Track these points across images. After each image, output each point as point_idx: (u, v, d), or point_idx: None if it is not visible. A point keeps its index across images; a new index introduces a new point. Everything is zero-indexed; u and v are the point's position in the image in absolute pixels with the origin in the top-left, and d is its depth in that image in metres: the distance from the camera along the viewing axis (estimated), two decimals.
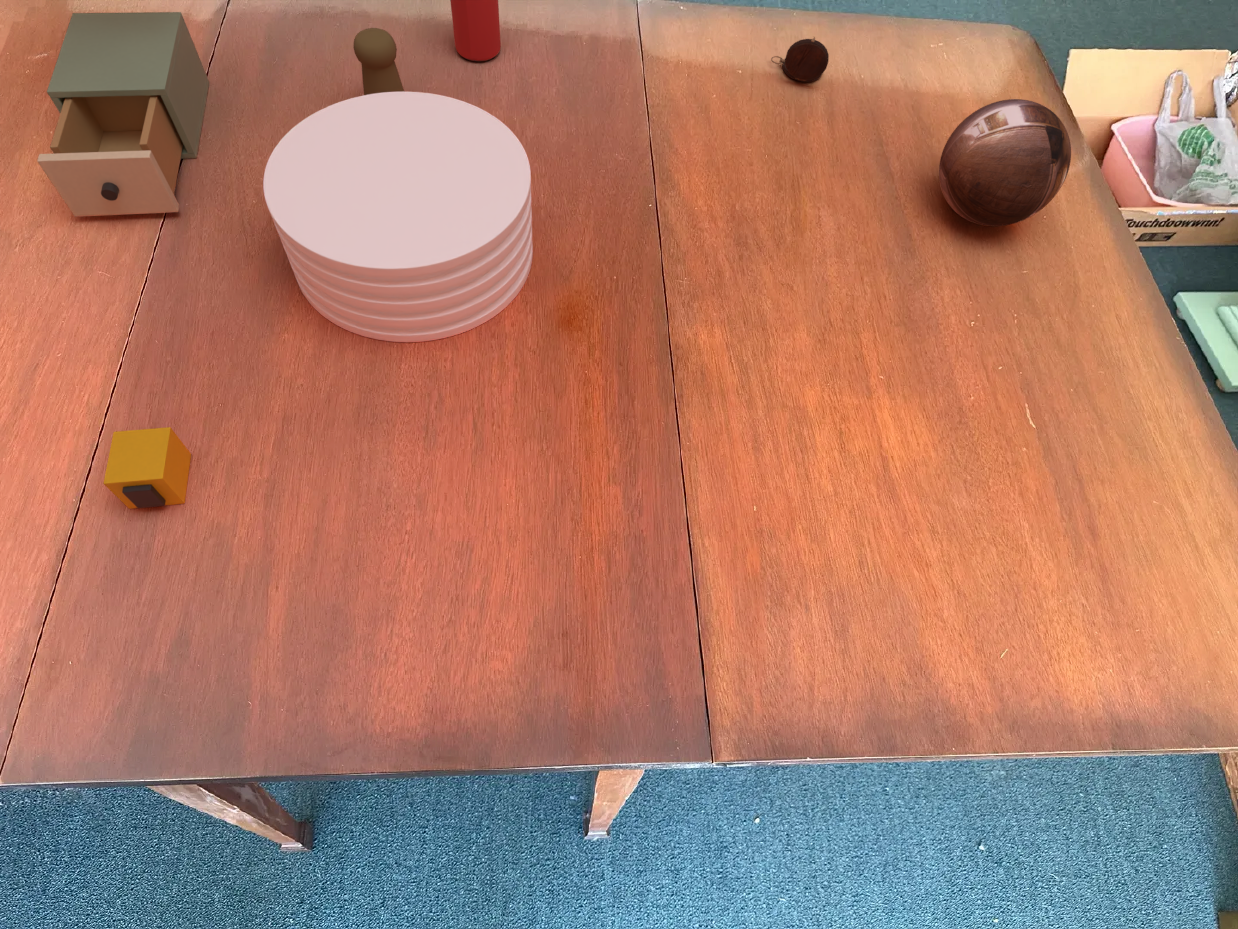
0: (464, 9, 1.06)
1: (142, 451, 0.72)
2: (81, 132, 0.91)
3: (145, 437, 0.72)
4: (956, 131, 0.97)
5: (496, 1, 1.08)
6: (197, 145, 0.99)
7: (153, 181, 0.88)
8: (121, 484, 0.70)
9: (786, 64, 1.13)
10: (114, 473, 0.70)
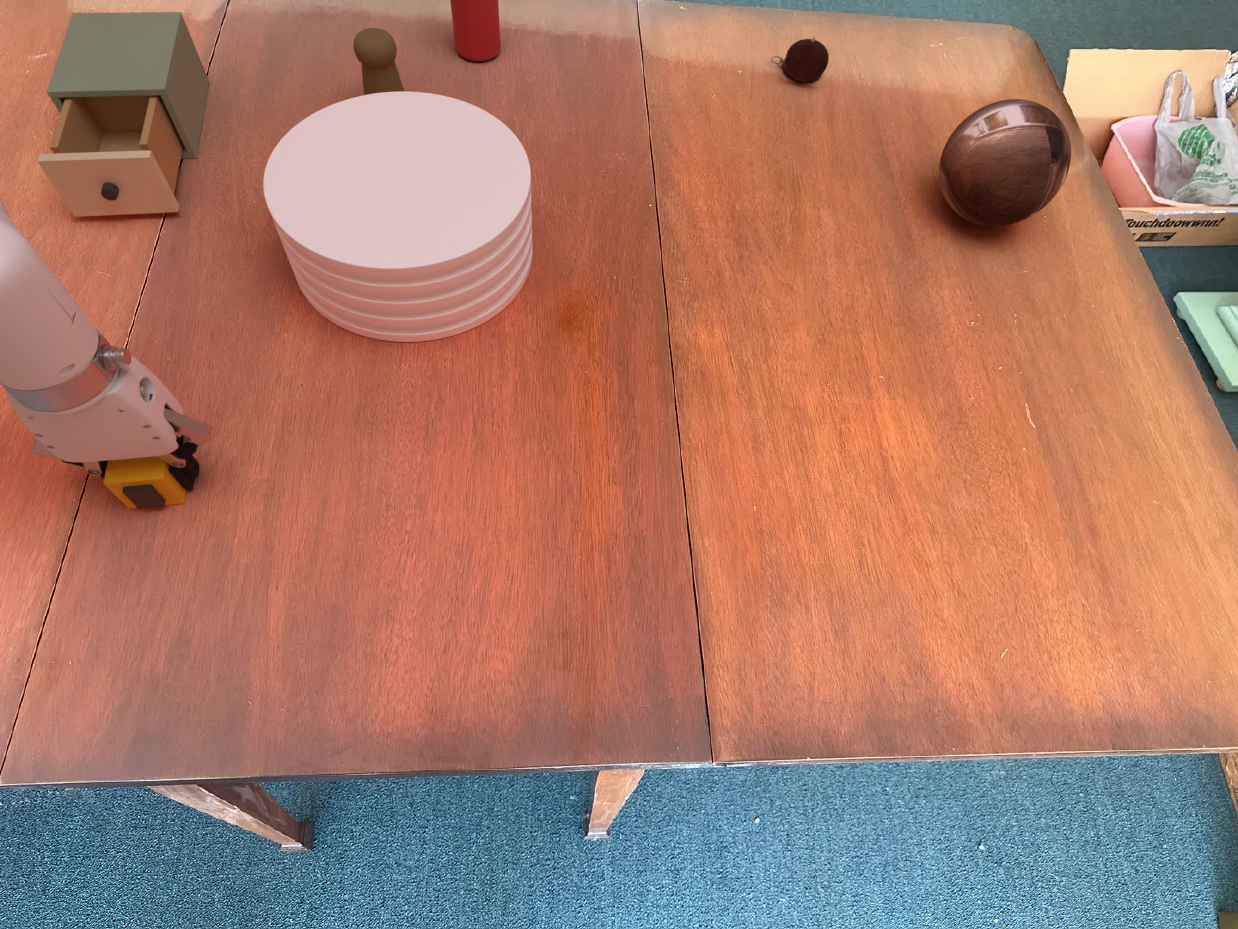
0: (464, 9, 1.06)
1: None
2: (81, 132, 0.91)
3: None
4: (956, 131, 0.97)
5: (496, 1, 1.08)
6: (197, 145, 0.99)
7: (153, 181, 0.88)
8: (121, 484, 0.70)
9: (786, 64, 1.13)
10: (114, 473, 0.70)
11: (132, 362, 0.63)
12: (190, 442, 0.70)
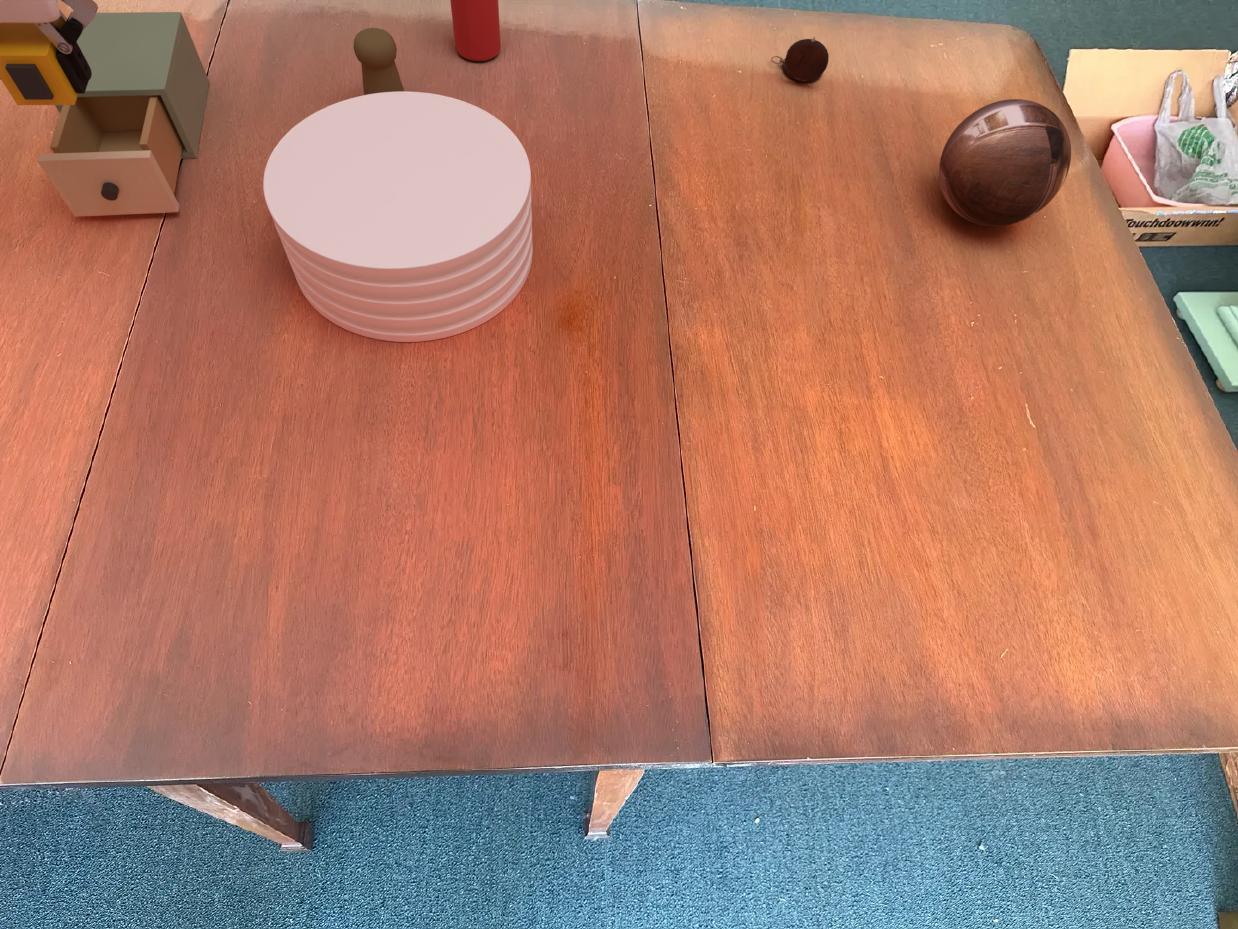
0: (464, 9, 1.06)
1: (28, 34, 0.71)
2: (81, 132, 0.91)
3: (33, 25, 0.72)
4: (956, 131, 0.97)
5: (496, 1, 1.08)
6: (197, 145, 0.99)
7: (153, 181, 0.88)
8: (4, 59, 0.70)
9: (786, 64, 1.13)
10: None
11: None
12: (74, 18, 0.70)
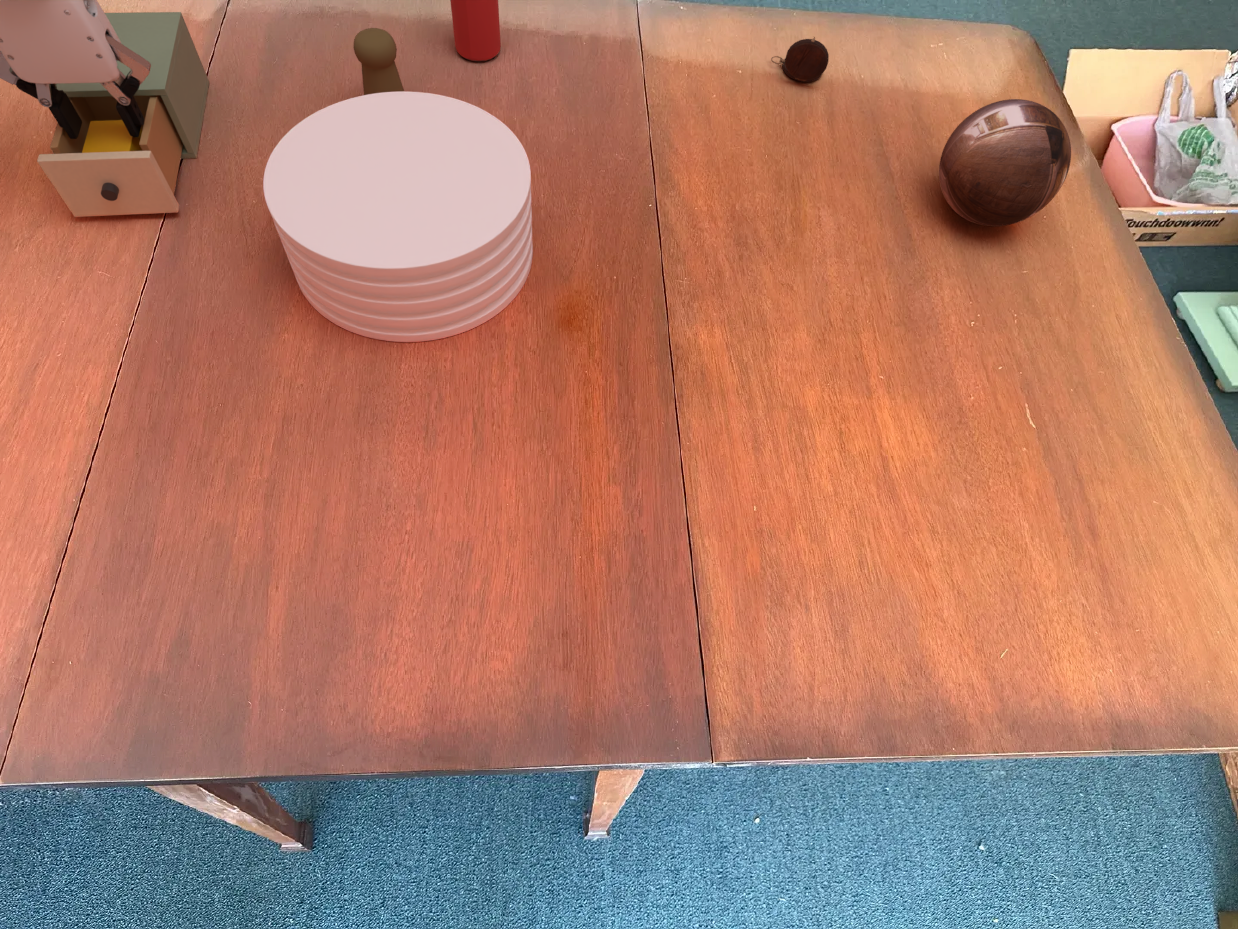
0: (464, 9, 1.06)
1: (113, 133, 0.90)
2: (81, 132, 0.91)
3: (116, 125, 0.90)
4: (956, 131, 0.97)
5: (496, 1, 1.08)
6: (197, 145, 0.99)
7: (153, 181, 0.88)
8: None
9: (786, 64, 1.13)
10: (90, 146, 0.88)
11: None
12: (133, 76, 0.83)
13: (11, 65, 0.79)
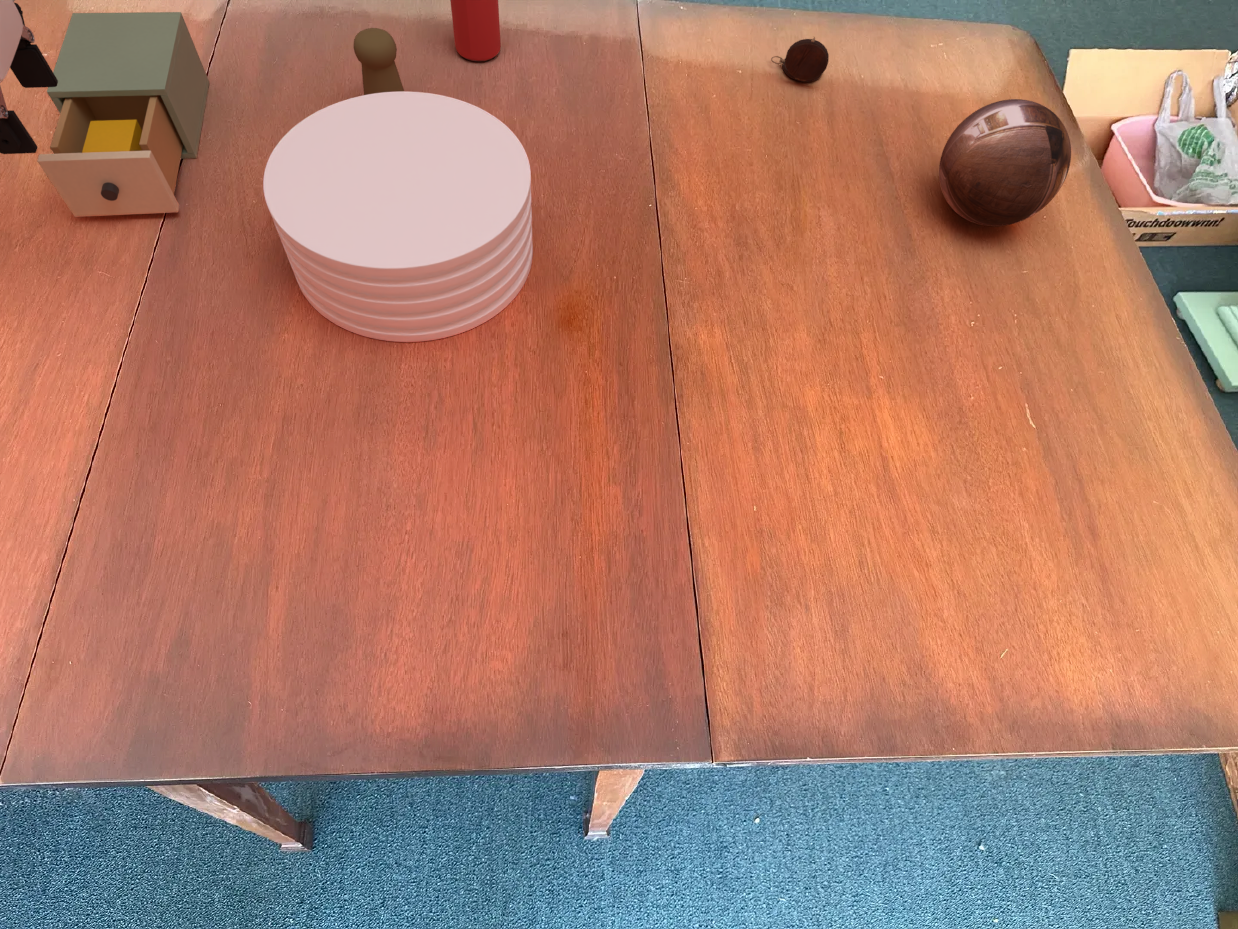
0: (464, 9, 1.06)
1: (113, 133, 0.90)
2: (81, 132, 0.91)
3: (116, 125, 0.90)
4: (956, 131, 0.97)
5: (496, 1, 1.08)
6: (197, 145, 0.99)
7: (152, 181, 0.88)
8: None
9: (786, 64, 1.13)
10: (90, 146, 0.88)
11: None
12: None
13: None
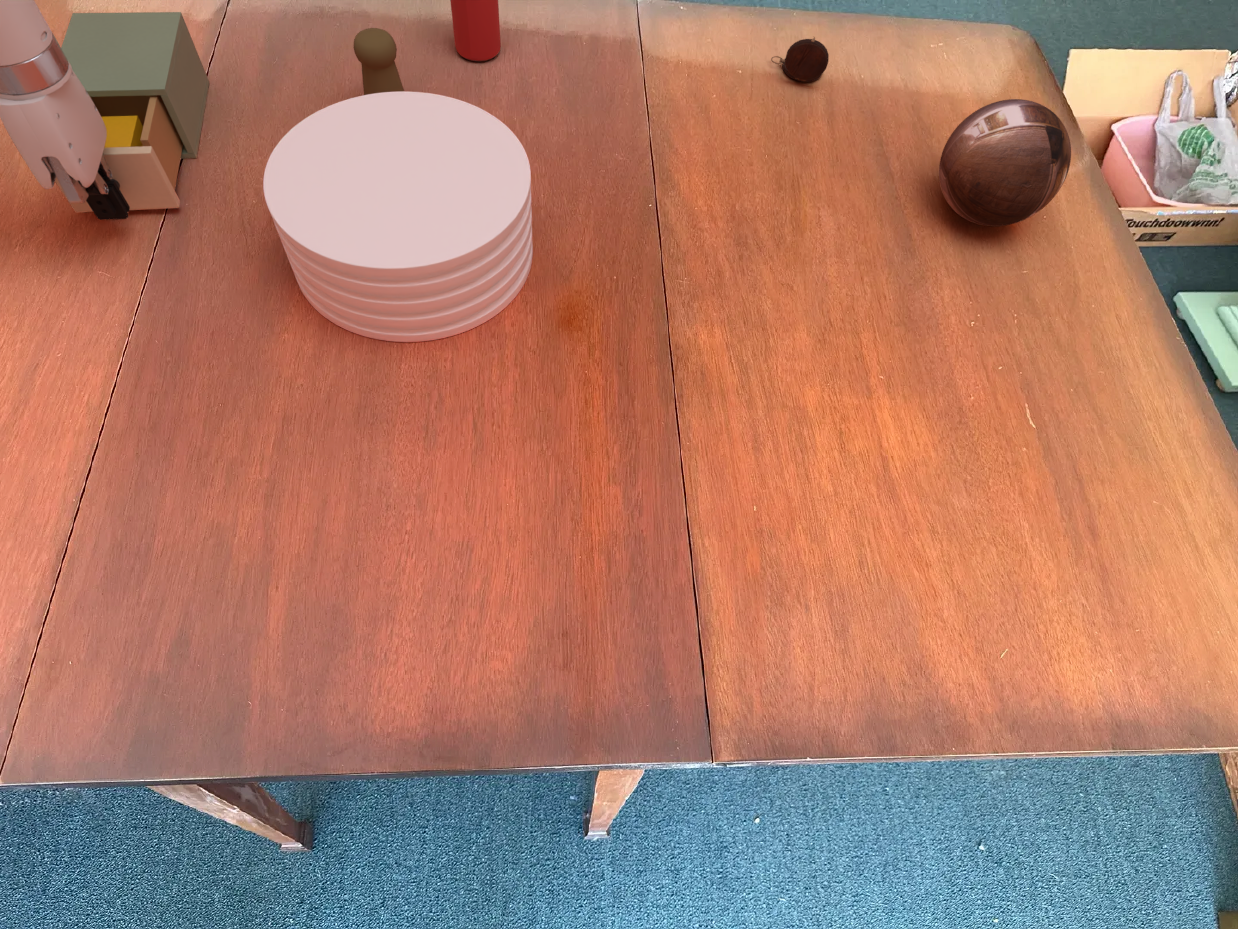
0: (464, 9, 1.06)
1: (114, 129, 0.90)
2: None
3: (117, 121, 0.91)
4: (956, 131, 0.97)
5: (496, 1, 1.08)
6: (197, 145, 0.99)
7: (153, 177, 0.89)
8: None
9: (786, 64, 1.13)
10: None
11: None
12: None
13: (82, 172, 0.78)
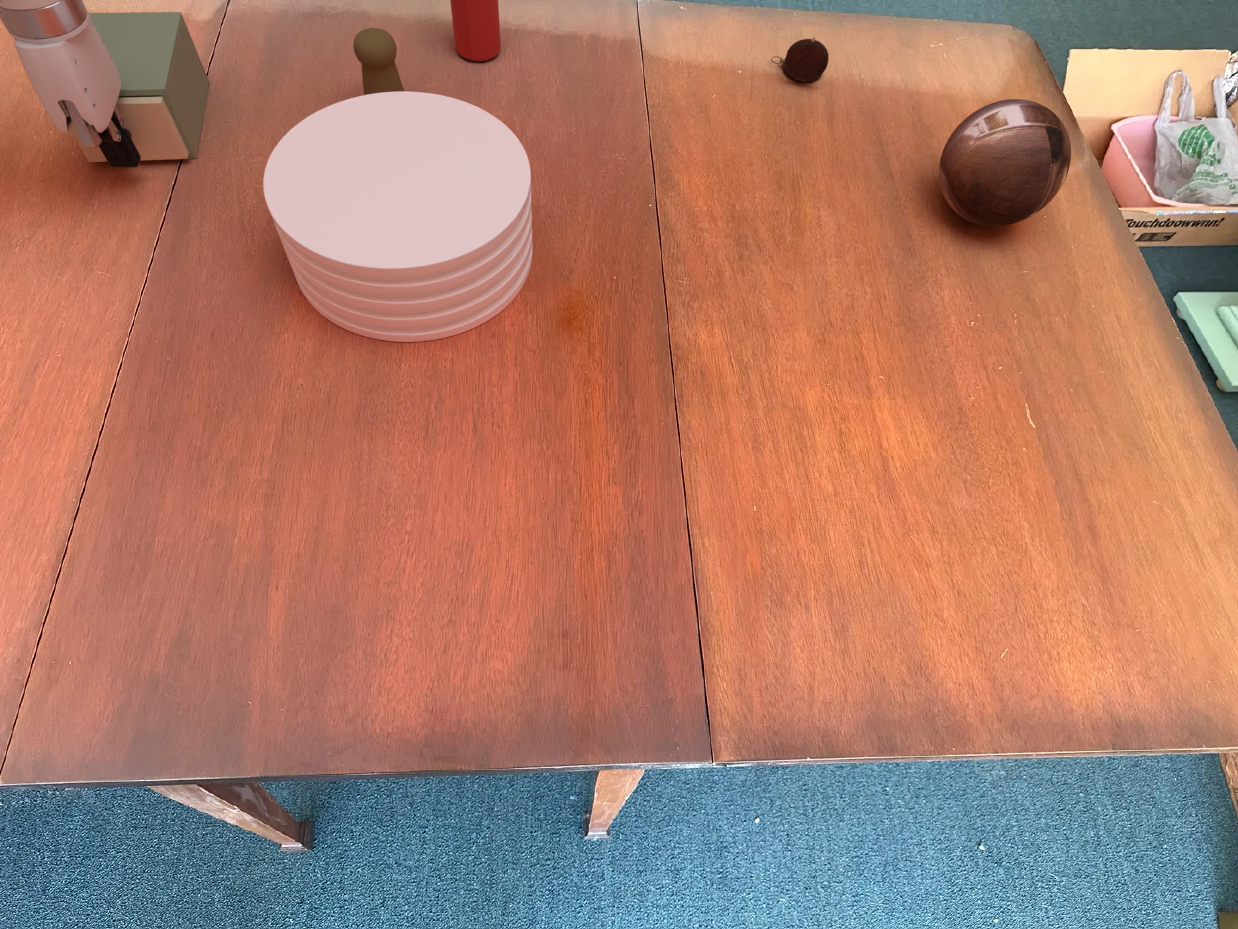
0: (464, 9, 1.06)
1: None
2: None
3: None
4: (956, 131, 0.97)
5: (496, 1, 1.08)
6: (197, 145, 0.99)
7: (164, 127, 0.93)
8: None
9: (786, 64, 1.13)
10: None
11: None
12: None
13: (96, 117, 0.83)
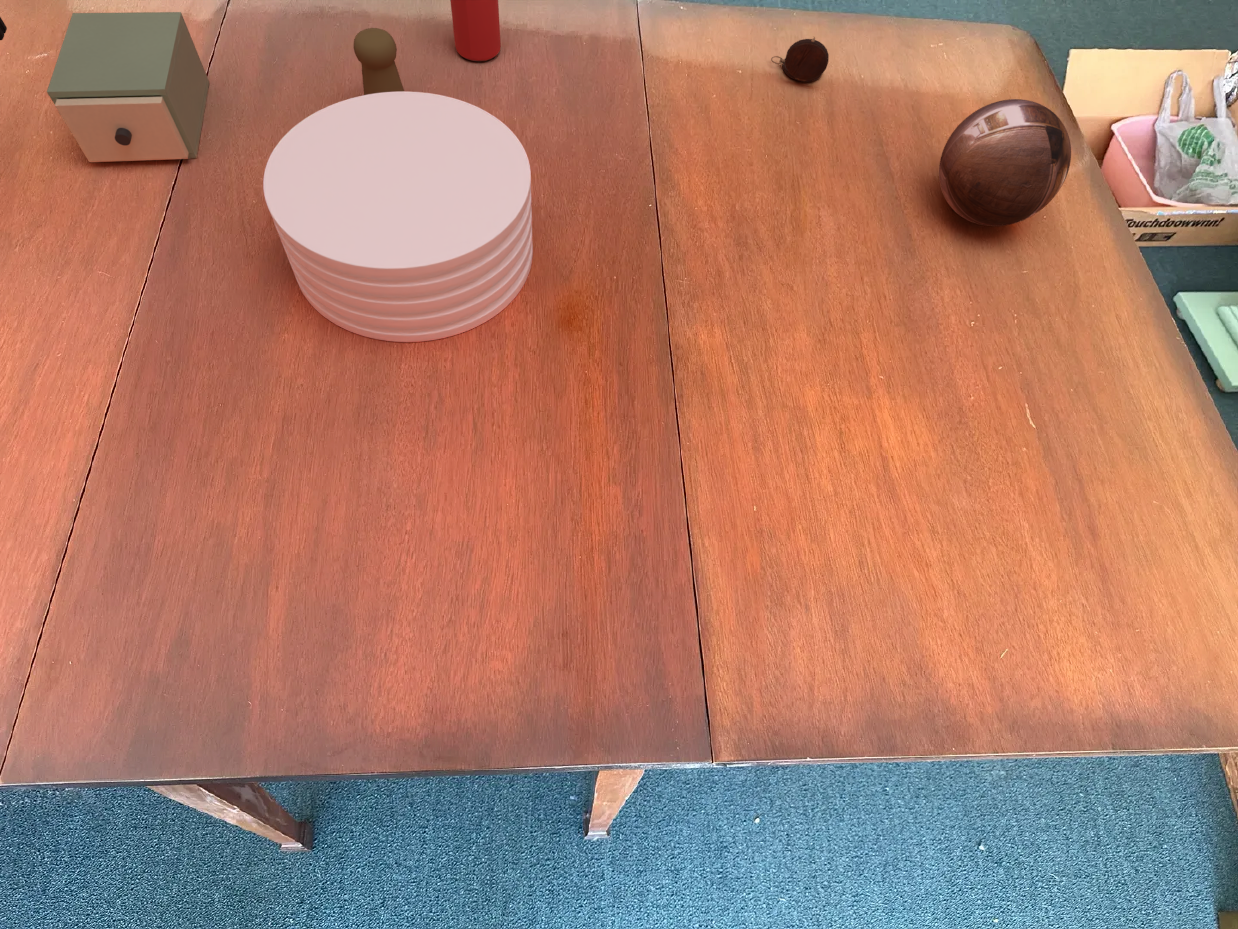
0: (464, 9, 1.06)
1: None
2: None
3: None
4: (956, 131, 0.97)
5: (496, 1, 1.08)
6: (197, 145, 0.99)
7: (164, 127, 0.93)
8: None
9: (786, 64, 1.13)
10: None
11: None
12: None
13: None
